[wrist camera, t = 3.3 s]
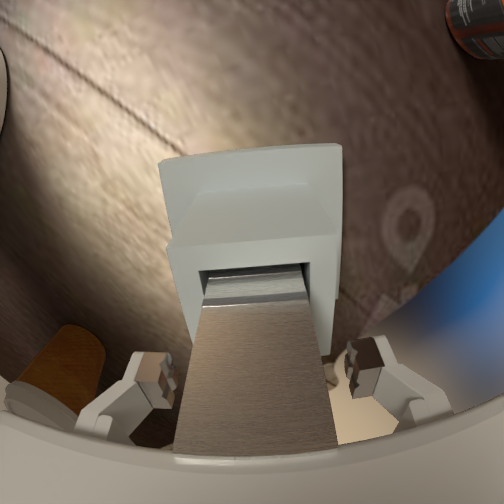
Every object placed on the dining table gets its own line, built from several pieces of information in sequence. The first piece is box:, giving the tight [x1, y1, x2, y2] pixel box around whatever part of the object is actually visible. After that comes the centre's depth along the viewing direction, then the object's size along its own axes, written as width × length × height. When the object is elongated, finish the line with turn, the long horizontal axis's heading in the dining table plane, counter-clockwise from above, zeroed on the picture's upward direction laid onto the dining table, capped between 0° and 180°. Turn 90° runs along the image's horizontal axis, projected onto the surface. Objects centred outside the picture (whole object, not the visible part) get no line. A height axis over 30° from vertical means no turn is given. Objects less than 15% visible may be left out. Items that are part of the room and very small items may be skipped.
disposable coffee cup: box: [4, 324, 106, 432], centre depth 24 cm, size 10×10×12 cm
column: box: [172, 263, 339, 460], centre depth 14 cm, size 4×4×16 cm
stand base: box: [158, 143, 343, 356], centre depth 18 cm, size 12×12×10 cm
